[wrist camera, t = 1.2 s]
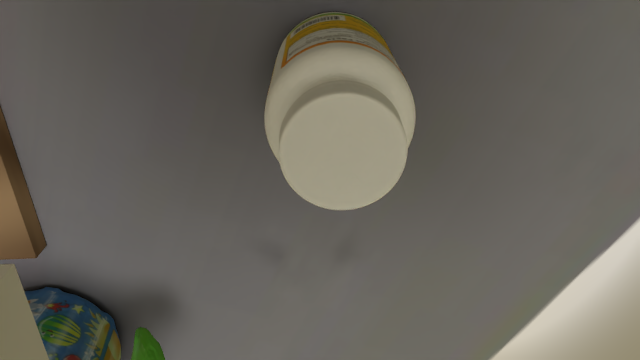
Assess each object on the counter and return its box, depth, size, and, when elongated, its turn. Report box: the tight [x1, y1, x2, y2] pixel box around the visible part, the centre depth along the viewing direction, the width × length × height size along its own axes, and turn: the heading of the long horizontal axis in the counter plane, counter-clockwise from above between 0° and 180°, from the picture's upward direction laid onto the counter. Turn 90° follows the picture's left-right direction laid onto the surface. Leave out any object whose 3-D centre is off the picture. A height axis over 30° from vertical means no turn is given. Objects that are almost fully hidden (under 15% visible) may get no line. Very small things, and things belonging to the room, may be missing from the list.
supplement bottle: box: [264, 12, 416, 210], centre depth 21 cm, size 5×5×10 cm
